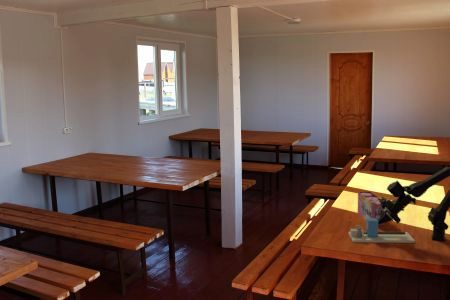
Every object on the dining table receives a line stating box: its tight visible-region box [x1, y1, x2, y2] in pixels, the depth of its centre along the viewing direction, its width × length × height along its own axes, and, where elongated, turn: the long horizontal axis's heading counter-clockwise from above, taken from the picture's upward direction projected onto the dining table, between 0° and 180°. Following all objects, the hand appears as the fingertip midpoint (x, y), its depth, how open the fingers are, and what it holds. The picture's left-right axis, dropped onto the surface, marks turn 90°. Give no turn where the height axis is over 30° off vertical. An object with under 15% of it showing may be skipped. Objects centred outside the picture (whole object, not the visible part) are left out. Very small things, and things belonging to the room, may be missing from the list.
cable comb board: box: [348, 224, 416, 244], centre depth 240 cm, size 30×12×6 cm, turn 86°
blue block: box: [365, 218, 379, 237], centre depth 240 cm, size 5×4×8 cm
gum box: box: [357, 191, 385, 226], centre depth 270 cm, size 24×8×14 cm, turn 4°
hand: (377, 223), depth 239 cm, fingers closed, pressing on blue block
